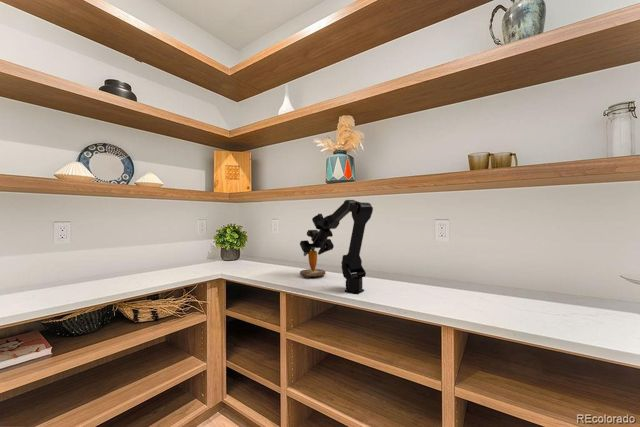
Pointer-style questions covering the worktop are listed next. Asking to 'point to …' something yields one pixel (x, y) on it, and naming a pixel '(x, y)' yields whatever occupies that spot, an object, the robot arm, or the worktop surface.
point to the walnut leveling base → (312, 273)
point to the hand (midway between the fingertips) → (311, 254)
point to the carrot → (312, 258)
